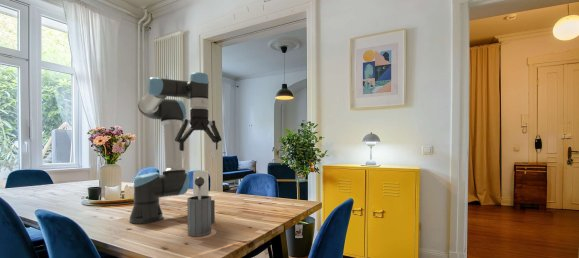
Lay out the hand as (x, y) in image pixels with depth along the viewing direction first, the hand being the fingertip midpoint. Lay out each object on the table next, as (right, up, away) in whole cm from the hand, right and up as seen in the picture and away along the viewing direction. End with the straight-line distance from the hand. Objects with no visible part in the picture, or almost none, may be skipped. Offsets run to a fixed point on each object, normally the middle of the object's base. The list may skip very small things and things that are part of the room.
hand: (199, 158), depth 122 cm
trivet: (+1, -32, -2) cm, 32 cm away
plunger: (+1, -27, -1) cm, 27 cm away
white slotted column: (-5, -34, +17) cm, 38 cm away
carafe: (+1, -32, -2) cm, 32 cm away
